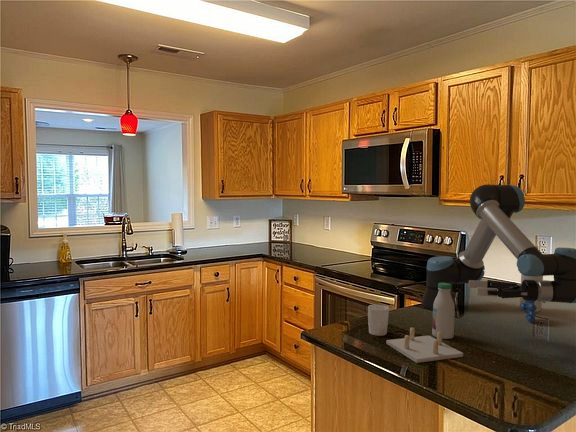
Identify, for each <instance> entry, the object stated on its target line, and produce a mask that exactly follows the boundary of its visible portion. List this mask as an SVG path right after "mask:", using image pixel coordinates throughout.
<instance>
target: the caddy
mask: <svg viewBox="0 0 576 432" xmlns="http://www.w3.org/2000/svg"><path fill="white" fill-rule="evenodd" d="M415 330H416V329H415V327H409V335H408V334H405V335H404V337H403V338H394V339H393V338H392V339H387V340H386V341H385V343H386V345H388V346H389V347H390V348H393V349H394V350H395V351H397V352H398V353H400V354H402V355H403V356H405V357H407V358H408V359H410V360H411V361H413V362H414V363H416V364H419V363H425V362H433V361H434V362H435V361H441V360H447V359H448V360H449V359H457V358H462V357H463V358H464V353H463V352H462V351H460V350H458V349H456V348H454V347H452V346H451V345H448V344H446V343H444V342H443V339H442V332H437V337H434V336H431V335H421V336H415V334H416V333H415Z"/></svg>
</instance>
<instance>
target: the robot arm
mask: <svg viewBox="0 0 576 432" xmlns="http://www.w3.org/2000/svg"><path fill="white" fill-rule="evenodd" d="M525 202H526V198H525V193H524V192H523V190H522V189H521V188H520V187H519V186H517V185H513V184H482V185H479V186H478V187H477V186H476V188H475V189H474V190H473V191H472V192H471V195H470V197H469V204H470V205H469V206H470V208H471V210H472V212H473V213H474V215H475V216H476V218H478V219H480V221H479V223H478V224H477V226H476V228H475V230H474V232H473V234H472V236H471V238H470V239H469V242H468V243H467V246H466V248H465V250H464V251H460V252H459V254H458V255H457V257H456V258H453V257H452V256H448V255H447V256H446V255H444V256H443V255H442V256H441V255H440V256H439V255H438V256H437V255H436V256H433V257H430V258H429V259H428V260H427V263H426V284H425V285H426V286H425V291H424V293H423V298H422V299H421V306H423V307H425V308H427V309H430V310H433V304H434V301H435V298H436V297H437V295H438V291H439V289H438V283H449V284H451V290H450V293H451V297H452V299H453V302H454V307H455V309H456V307H457V303H456V300H455V296H454V294H453V285H459V284H462V285H463V284H468V288H469V289H470V288H473V289H476V296H480V297H481V296H482V297H498V298H501V299H516V298H520V297H522V298H523V299H524V300H525V301H536V300H537V301H542V304H546V302H548V303H561V304H563V303H565V304H576V248H573V247H572V248H571V247H556V248H555V249H554V251H553V252H554V253H542V251H540V249H539V248H538V249H537V248H536V247H535V246H536V245H535V244H534V243H533V242H532V241H531V240H530V239H529V238H528V236H526V235H525V234H524V233H523V232H522V230H521V229H520V228H519V227H518V226H517V225H516V224H515V223H514V222H513V221H512V220H511V218H512V215H514V214H517V213H519V212H521V211H522V210H523V209H524V207H525V204H526V203H525ZM496 236H497V237H498V239H500V241H501V242H502V243H503V245H504V246H505V247H506V248H507V250H509V251H510V253H511V254H512V255H513V256H514V257H515V258H516V267H517V270H518V272H519V273H520V275H521V274H522V275H524V276H534V277H537V276H543V277H547V276H548V277H549V276H553V280H546V279H545V280H544V279H543V280H536V281H535V280H523V282H522V284H521V283H520V284H518V283H517V282H510V281H509V282H508V281H507V282H506V281H500V280H490V279H488V280H482V279H483V277H484V276H485V272H486V271H485V264H484V263H485V262H484V260H483V259H484V258H485V256H486V255H487V252H488V251H489V250H490V247H491V245H492V244H493V241H494V240H495V238H496Z"/></svg>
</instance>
